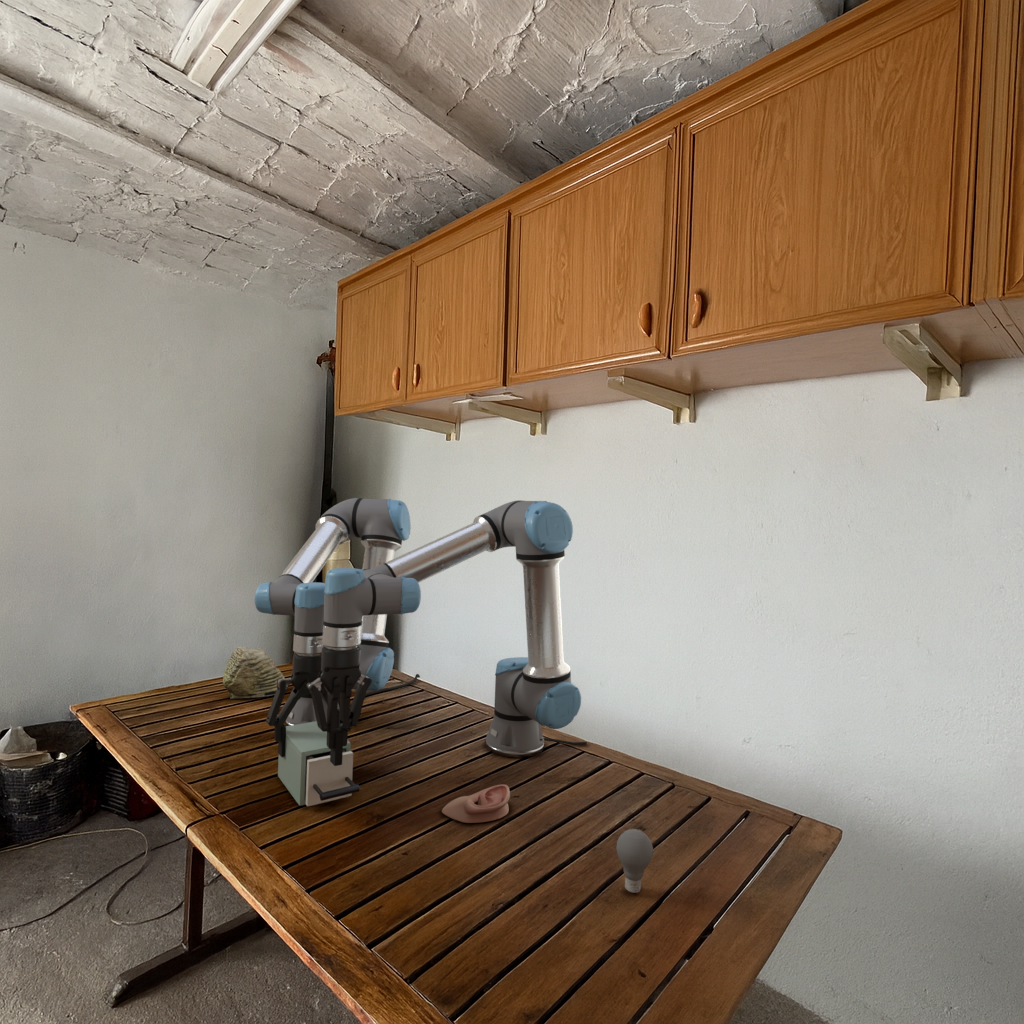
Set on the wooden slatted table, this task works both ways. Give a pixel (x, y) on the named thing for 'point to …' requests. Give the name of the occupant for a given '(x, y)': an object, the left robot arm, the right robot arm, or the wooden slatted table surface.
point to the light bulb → (634, 857)
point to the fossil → (251, 674)
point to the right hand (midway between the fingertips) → (336, 762)
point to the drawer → (328, 778)
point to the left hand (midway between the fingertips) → (307, 749)
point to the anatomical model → (480, 805)
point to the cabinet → (301, 756)
